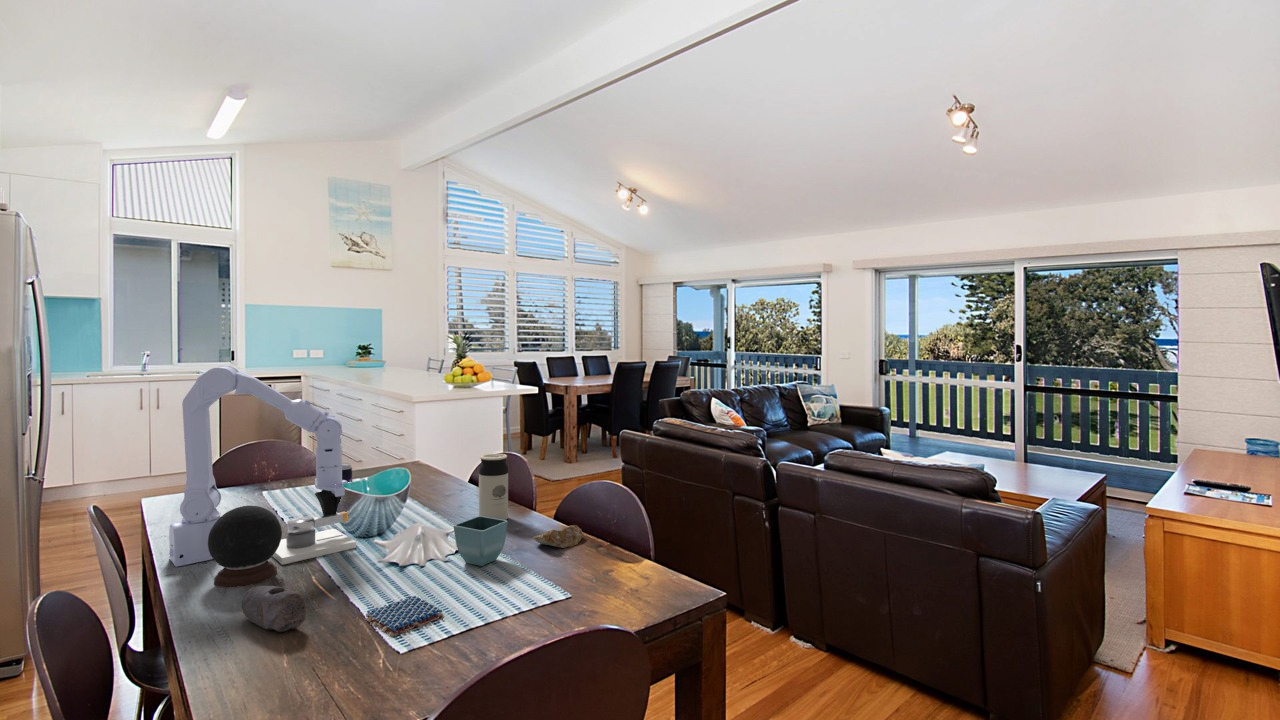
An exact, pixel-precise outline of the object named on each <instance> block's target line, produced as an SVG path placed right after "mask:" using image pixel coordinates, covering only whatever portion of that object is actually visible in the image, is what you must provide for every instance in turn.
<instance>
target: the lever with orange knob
mask: <svg viewBox="0 0 1280 720" xmlns="http://www.w3.org/2000/svg"><path fill="white" fill-rule="evenodd" d="M347 512H348V511H347ZM347 512H345V511H341V512H336V514H331V515H326V516H323V515H322V516H315V517H310V516H302V517H296V518H292V519H289V520H287V522H286V523H287V524H286V525H287V527H286V528H287V529H286V530H287V532H286V533H289V534H303V533H308V532H311V531H313V530H314V529H315V528H320V527H325V526H329V525H330V526H331V525H335V524H339V523H347V522H349V521H350V520H349V518H348V513H347Z"/></svg>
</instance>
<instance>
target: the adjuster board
mask: <svg viewBox="0 0 1280 720" xmlns="http://www.w3.org/2000/svg"><path fill="white" fill-rule="evenodd" d="M285 534H286V536H285V537H286V538H281V541H280V544H279V547H278V549H277V550H276V552H275V553H274V554H273V556H272V558H274V559H275V560H276V561H277V562H279V563H280V564H281V565H287V564H292V563H297V562H301V561H304V560H307V559H309V560H310V559H313V558H317V557H321V556H322V557H323V556H326V555H330V554H334V553H335V554H336V553H339V552H343V551H347V550H352V549H356V548H357V541H356V540H354V539H352V538H351V537H349V536H348V535H346V534H345V533H343V532H341V531H339V530H337V529H336V528H331V529H325V530H321V531H317V532H316V529H315V528H314V530H313V531H311V532H308V533H303V534H289V533H287V532H286V533H285Z"/></svg>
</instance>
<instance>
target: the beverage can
mask: <svg viewBox="0 0 1280 720" xmlns="http://www.w3.org/2000/svg"><path fill="white" fill-rule="evenodd" d="M342 480H346V481H347V483H348V482H352V483H353V467H352V465H351V463H350V462H342Z"/></svg>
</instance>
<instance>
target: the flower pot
mask: <svg viewBox="0 0 1280 720" xmlns="http://www.w3.org/2000/svg"><path fill="white" fill-rule="evenodd" d="M507 528H508V520H507V519H506V520H502V519H495V518H489V517H484V516H479V515H478V516H475V517H473V518H469V519H467V520H464V521H461V522H459V523H456V524H454V525H453V532H454V538H455V545H456V548H457V551H458V553H459V555H460V556H461V559H463V561H464V562H465V563H466V564H471V565H475V566H479V567H483V566H485V565H488V564H490V563H491V562H494V561H496V560H497V559H498V558H499V556H500V554H501V553H502V551H503V549H504V546H505V543H506V536H507V530H508V529H507Z"/></svg>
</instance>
